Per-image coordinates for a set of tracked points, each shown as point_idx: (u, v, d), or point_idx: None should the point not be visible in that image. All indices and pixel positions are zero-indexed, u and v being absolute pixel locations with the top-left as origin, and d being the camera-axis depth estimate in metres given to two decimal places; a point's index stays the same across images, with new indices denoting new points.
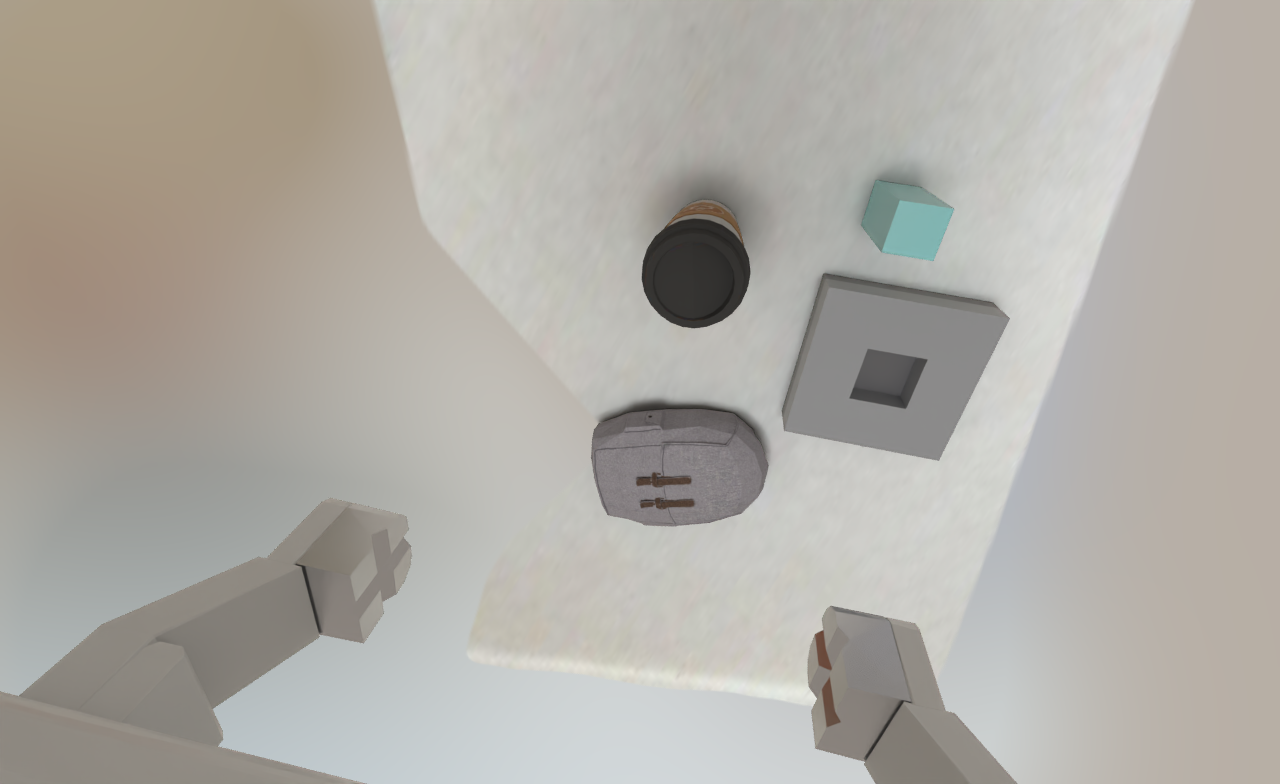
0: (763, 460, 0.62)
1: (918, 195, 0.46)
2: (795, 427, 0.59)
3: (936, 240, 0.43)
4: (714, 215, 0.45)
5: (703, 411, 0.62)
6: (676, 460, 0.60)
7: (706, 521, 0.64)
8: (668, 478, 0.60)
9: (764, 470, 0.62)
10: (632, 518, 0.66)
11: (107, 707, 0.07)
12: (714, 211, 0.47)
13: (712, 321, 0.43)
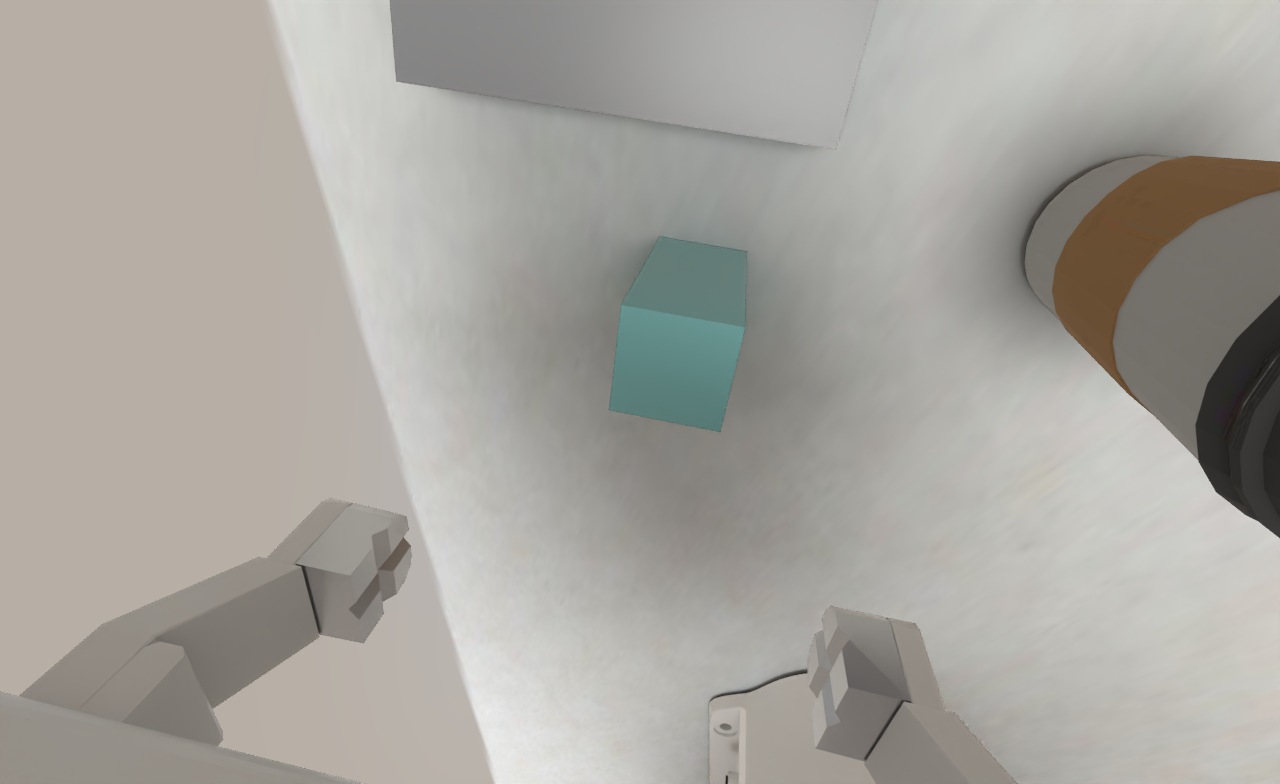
0: None
1: None
2: None
3: (627, 349, 0.19)
4: None
5: None
6: None
7: None
8: None
9: None
10: None
11: (107, 707, 0.07)
12: None
13: None
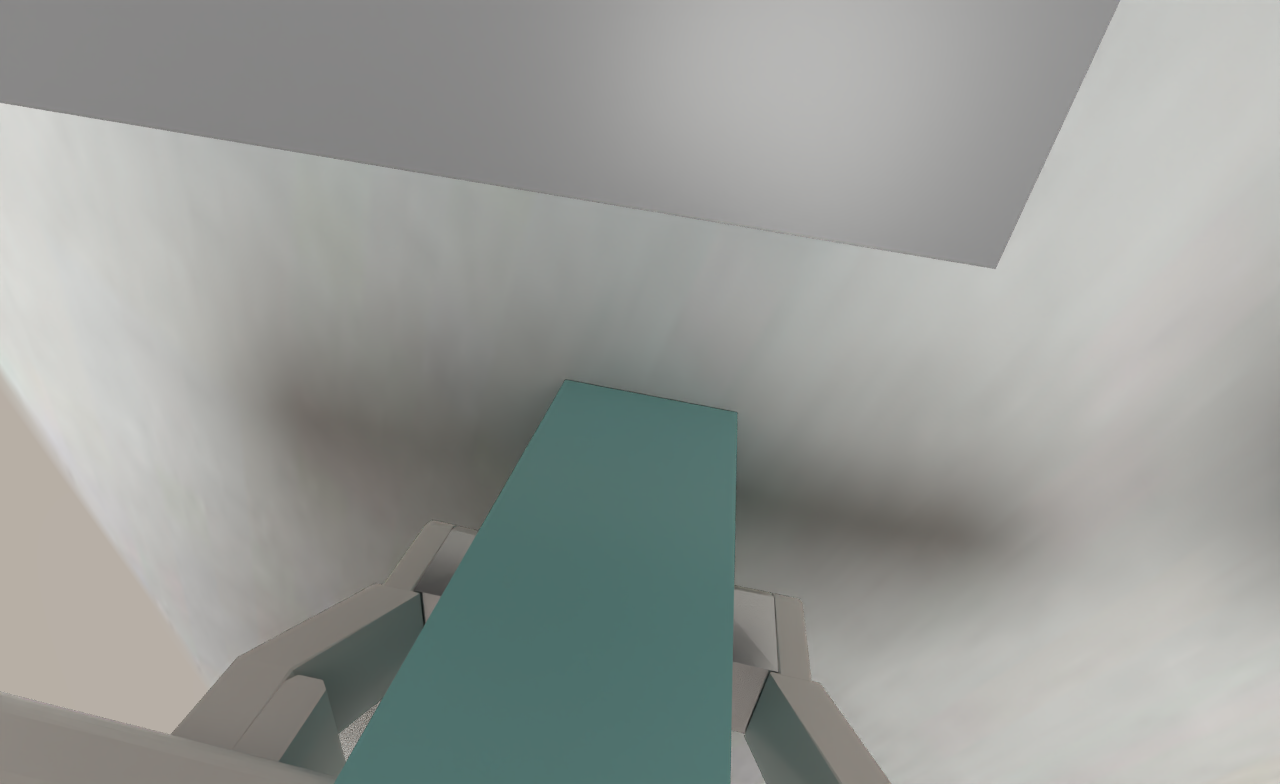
0: None
1: None
2: None
3: None
4: None
5: None
6: None
7: None
8: None
9: None
10: None
11: (260, 745, 0.07)
12: None
13: None
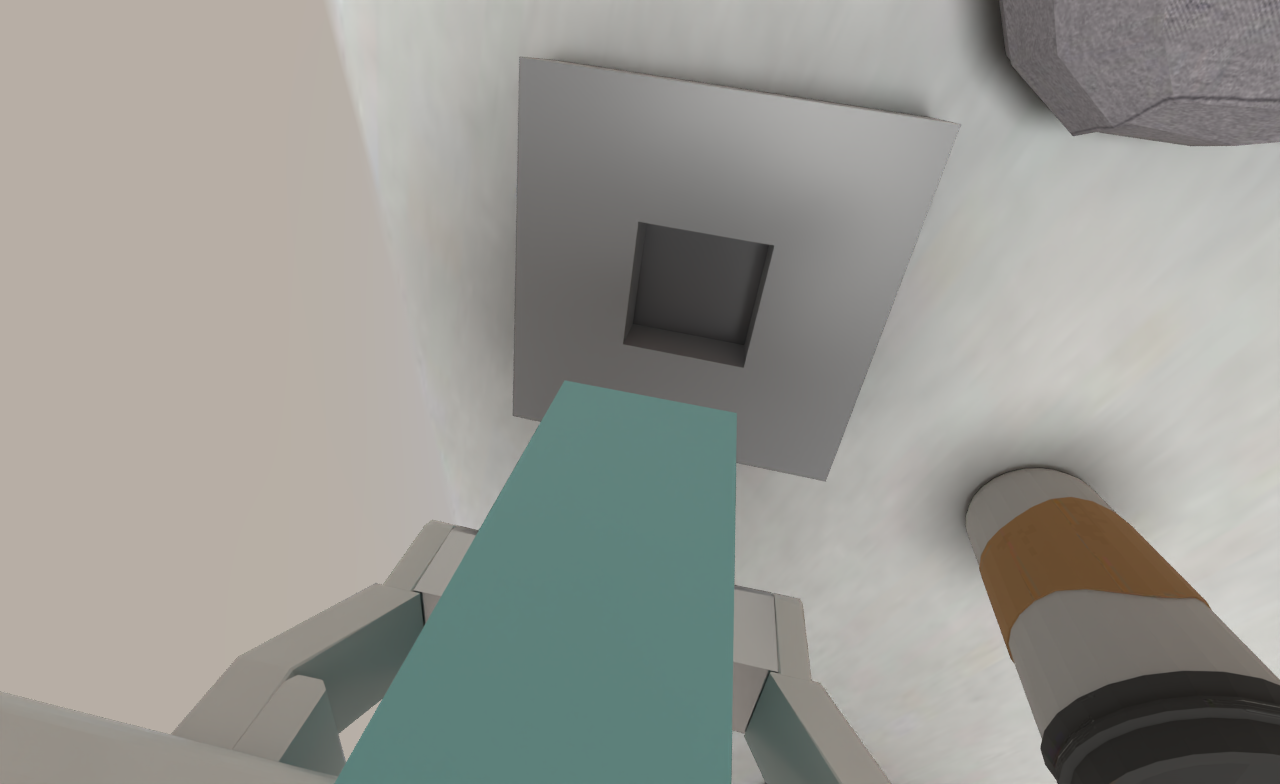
0: None
1: None
2: (923, 140, 0.20)
3: None
4: None
5: None
6: None
7: None
8: None
9: None
10: None
11: (260, 745, 0.07)
12: None
13: (1208, 757, 0.17)
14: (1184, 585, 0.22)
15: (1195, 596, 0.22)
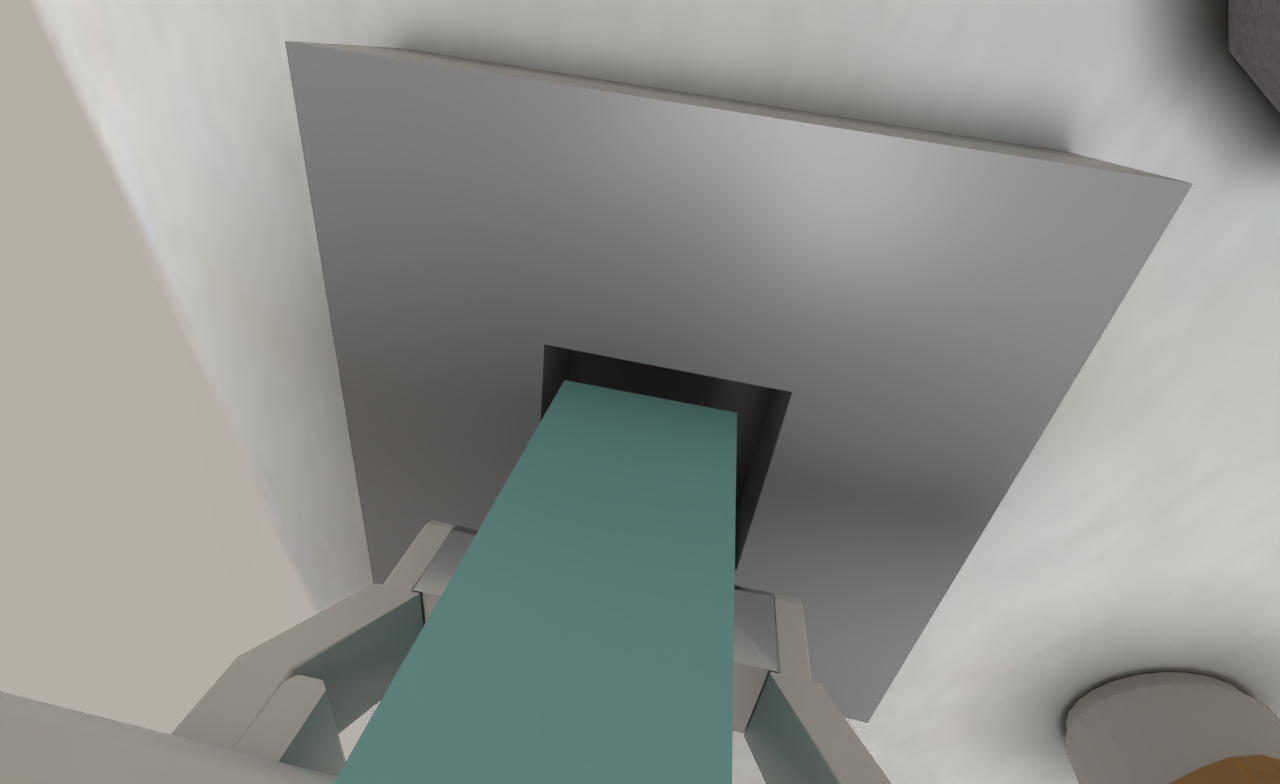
0: None
1: None
2: (1105, 214, 0.10)
3: None
4: None
5: None
6: None
7: None
8: None
9: None
10: None
11: (261, 745, 0.07)
12: None
13: None
14: None
15: None
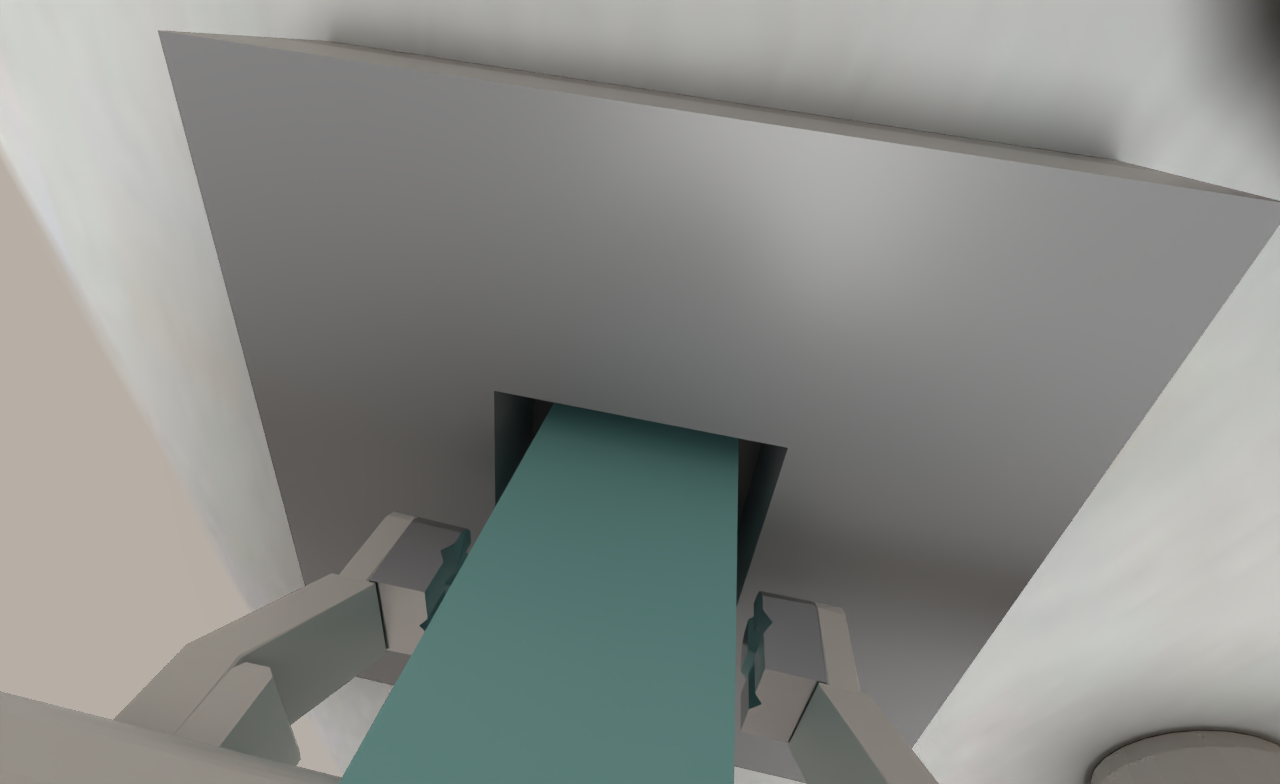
0: None
1: None
2: (1179, 242, 0.08)
3: None
4: None
5: None
6: None
7: None
8: None
9: None
10: None
11: (202, 731, 0.07)
12: None
13: None
14: None
15: None
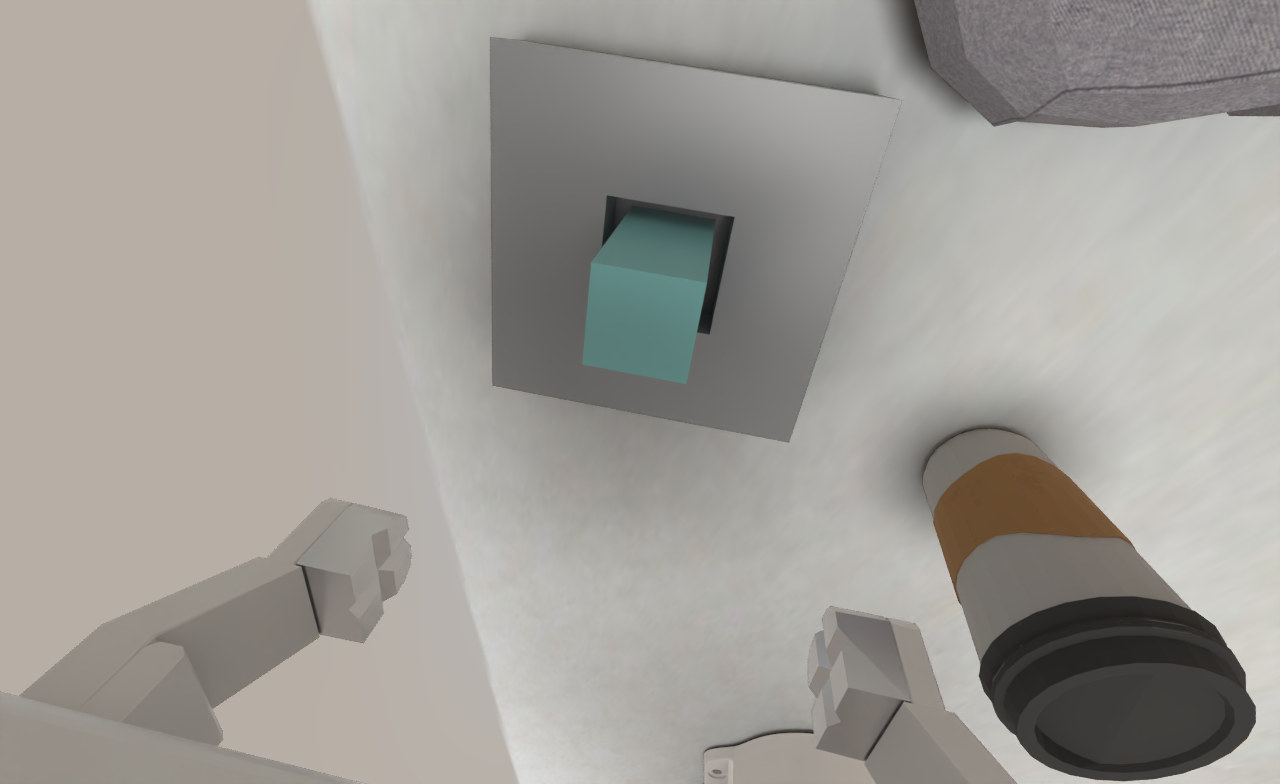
0: (928, 5, 0.20)
1: None
2: (868, 115, 0.22)
3: (597, 306, 0.20)
4: None
5: None
6: None
7: None
8: None
9: None
10: None
11: (106, 707, 0.07)
12: None
13: (1116, 669, 0.19)
14: (1110, 527, 0.24)
15: (1119, 536, 0.24)
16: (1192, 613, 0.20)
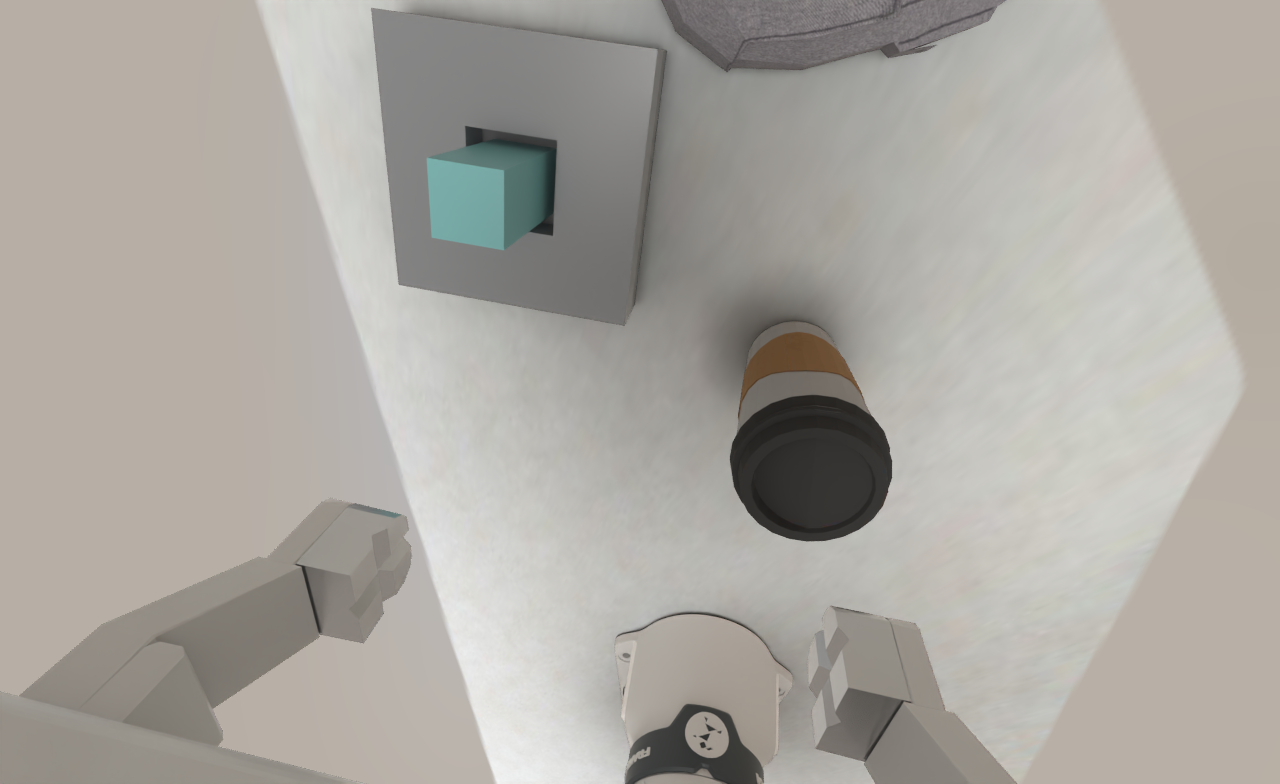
0: None
1: None
2: (637, 60, 0.30)
3: (435, 191, 0.29)
4: None
5: None
6: None
7: None
8: None
9: None
10: None
11: (107, 707, 0.07)
12: None
13: (787, 436, 0.27)
14: (836, 368, 0.33)
15: (838, 373, 0.32)
16: (852, 405, 0.28)
